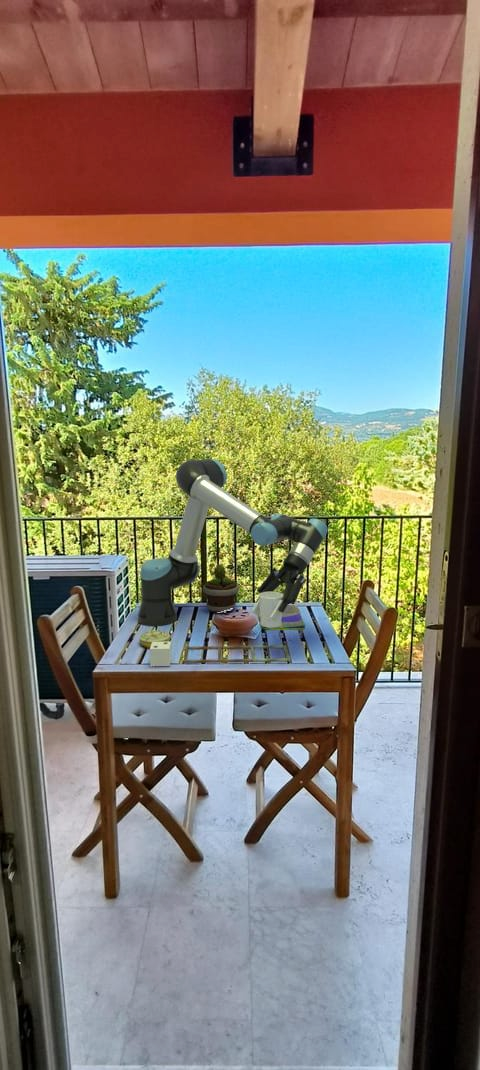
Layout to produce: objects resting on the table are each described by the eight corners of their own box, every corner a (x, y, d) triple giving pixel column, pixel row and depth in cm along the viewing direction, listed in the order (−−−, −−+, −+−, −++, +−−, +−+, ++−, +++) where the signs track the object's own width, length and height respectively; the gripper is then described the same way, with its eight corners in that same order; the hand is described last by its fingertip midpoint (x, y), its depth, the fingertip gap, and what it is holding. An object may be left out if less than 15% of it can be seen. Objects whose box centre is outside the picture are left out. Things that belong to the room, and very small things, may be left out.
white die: (150, 667, 167) (149, 648, 166) (152, 659, 173) (152, 641, 171) (169, 667, 167) (169, 648, 166) (171, 659, 173) (171, 641, 172)
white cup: (275, 630, 170) (276, 599, 168) (254, 625, 174) (254, 596, 172) (287, 623, 176) (287, 593, 174) (266, 619, 180) (266, 590, 179)
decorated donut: (166, 636, 193) (165, 626, 192) (173, 647, 183) (173, 636, 183) (137, 640, 189) (136, 630, 189) (143, 651, 180) (142, 640, 179)
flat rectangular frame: (183, 662, 170) (183, 661, 170) (185, 648, 182) (185, 646, 182) (290, 661, 171) (290, 659, 171) (285, 647, 183) (285, 645, 183)
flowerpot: (240, 615, 216) (240, 567, 212) (202, 616, 215) (201, 567, 211) (238, 604, 230) (238, 559, 227) (202, 605, 229) (202, 559, 226)
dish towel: (259, 631, 200) (259, 624, 199) (257, 610, 224) (257, 604, 223) (306, 631, 200) (306, 624, 199) (299, 610, 224) (299, 604, 223)
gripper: (327, 571, 175) (292, 630, 167) (281, 561, 190) (247, 614, 182) (316, 557, 170) (281, 617, 162) (270, 548, 185) (236, 602, 177)
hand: (263, 616), depth 172 cm, fingers closed on white cup, 8 cm apart
